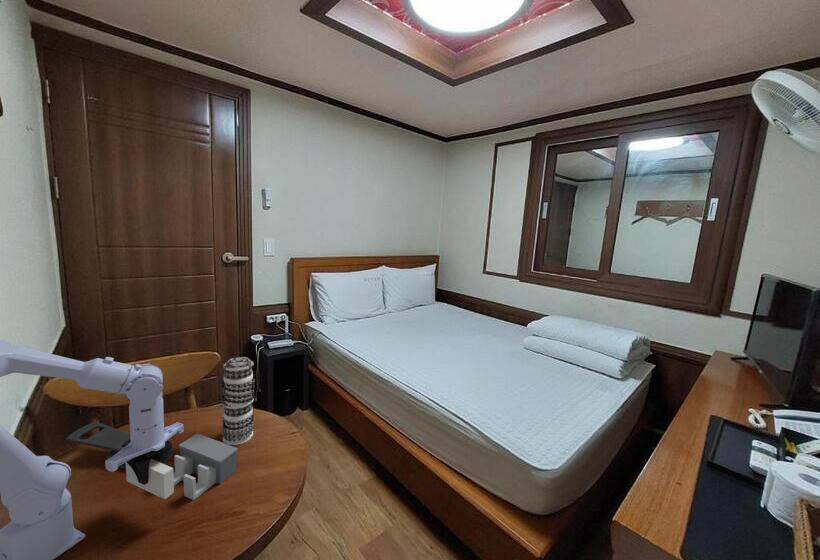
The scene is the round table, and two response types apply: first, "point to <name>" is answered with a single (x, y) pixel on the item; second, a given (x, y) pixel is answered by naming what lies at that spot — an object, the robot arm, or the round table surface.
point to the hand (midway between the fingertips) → (149, 478)
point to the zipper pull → (106, 439)
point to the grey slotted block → (203, 464)
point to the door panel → (155, 479)
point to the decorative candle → (238, 400)
